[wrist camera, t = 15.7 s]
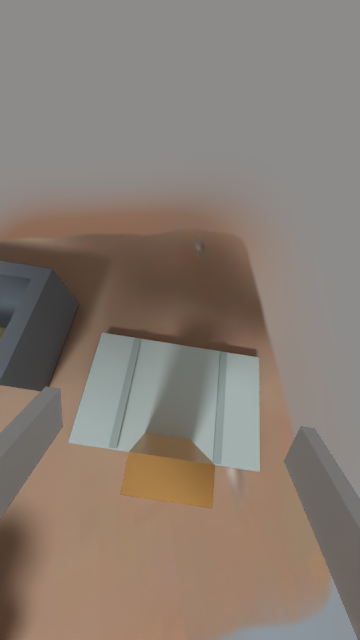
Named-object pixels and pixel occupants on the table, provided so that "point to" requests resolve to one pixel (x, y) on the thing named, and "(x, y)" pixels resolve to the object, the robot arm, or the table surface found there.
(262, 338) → the table surface
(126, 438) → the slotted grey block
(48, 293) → the tub
